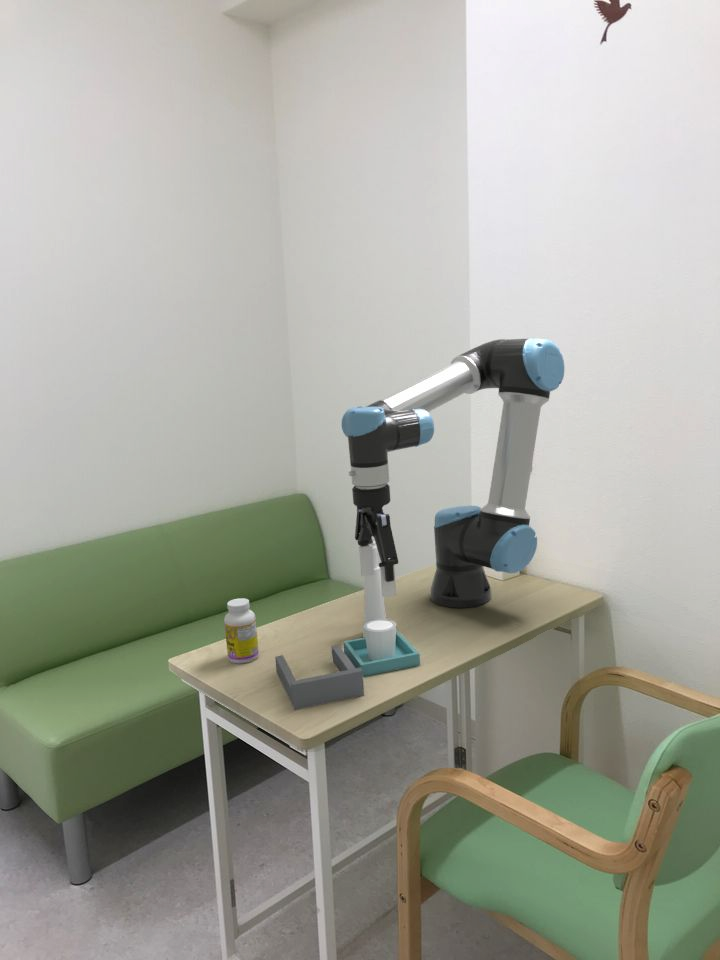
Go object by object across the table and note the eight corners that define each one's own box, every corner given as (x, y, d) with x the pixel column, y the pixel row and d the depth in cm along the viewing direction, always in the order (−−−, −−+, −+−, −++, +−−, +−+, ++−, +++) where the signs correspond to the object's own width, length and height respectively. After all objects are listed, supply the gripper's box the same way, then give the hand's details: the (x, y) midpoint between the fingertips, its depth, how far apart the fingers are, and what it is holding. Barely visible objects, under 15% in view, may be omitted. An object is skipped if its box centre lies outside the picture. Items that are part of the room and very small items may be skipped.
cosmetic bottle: (371, 642, 169) (365, 547, 165) (357, 634, 174) (351, 541, 170) (394, 635, 172) (389, 542, 168) (380, 627, 177) (374, 536, 173)
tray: (398, 641, 169) (398, 631, 168) (420, 664, 157) (419, 653, 156) (343, 652, 165) (343, 641, 165) (361, 676, 153) (361, 665, 153)
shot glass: (371, 647, 166) (369, 617, 164) (401, 650, 163) (400, 619, 162) (361, 661, 159) (358, 629, 158) (392, 664, 157) (390, 632, 156)
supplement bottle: (225, 655, 168) (219, 599, 165) (255, 649, 170) (249, 594, 167) (231, 667, 161) (225, 609, 159) (262, 660, 164) (256, 604, 161)
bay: (276, 672, 158) (274, 649, 157) (339, 660, 162) (338, 637, 161) (294, 709, 142) (292, 684, 141) (364, 695, 146) (362, 670, 145)
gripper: (335, 476, 164) (343, 570, 169) (372, 500, 141) (380, 608, 145) (368, 471, 166) (375, 564, 171) (410, 494, 143) (417, 601, 147)
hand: (378, 585), depth 158 cm, fingers open, 13 cm apart
